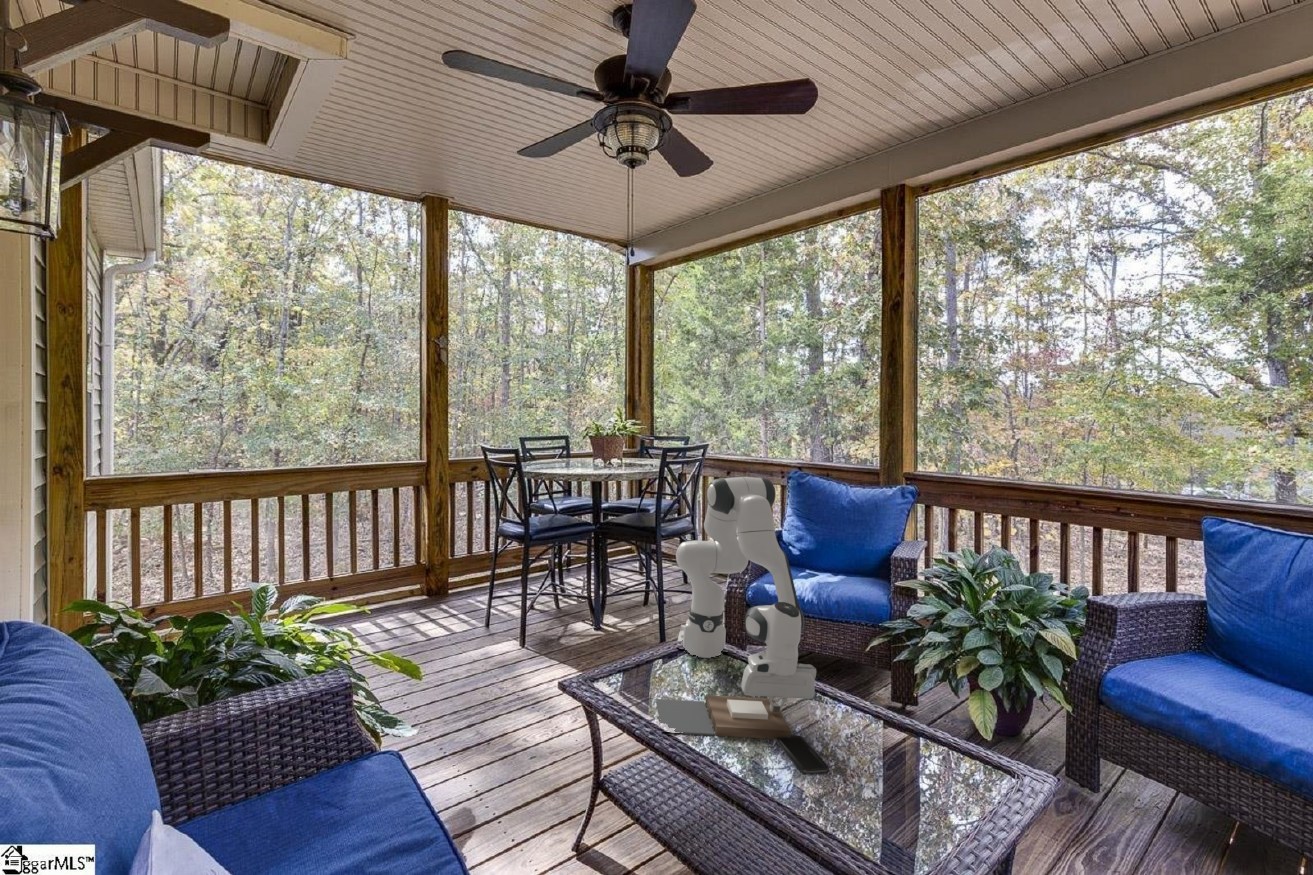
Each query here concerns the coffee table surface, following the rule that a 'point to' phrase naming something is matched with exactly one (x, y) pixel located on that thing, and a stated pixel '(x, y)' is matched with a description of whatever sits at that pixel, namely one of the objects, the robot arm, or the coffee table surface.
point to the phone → (802, 755)
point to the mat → (685, 716)
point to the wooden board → (745, 720)
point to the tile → (747, 709)
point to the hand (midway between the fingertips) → (775, 710)
